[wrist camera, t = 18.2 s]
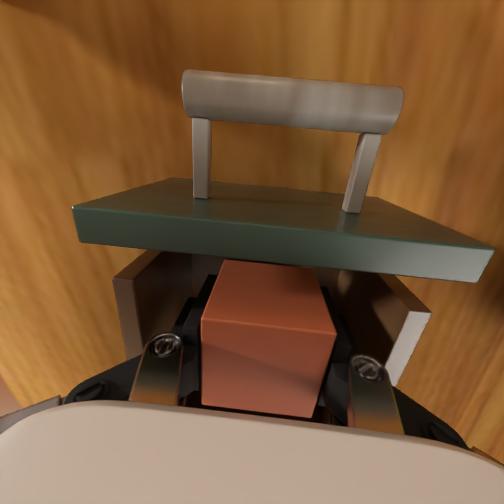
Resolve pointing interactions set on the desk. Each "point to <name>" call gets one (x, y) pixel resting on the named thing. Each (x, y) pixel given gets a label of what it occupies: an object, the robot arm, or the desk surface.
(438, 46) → the desk surface
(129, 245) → the drawer
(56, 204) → the desk surface
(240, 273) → the block
